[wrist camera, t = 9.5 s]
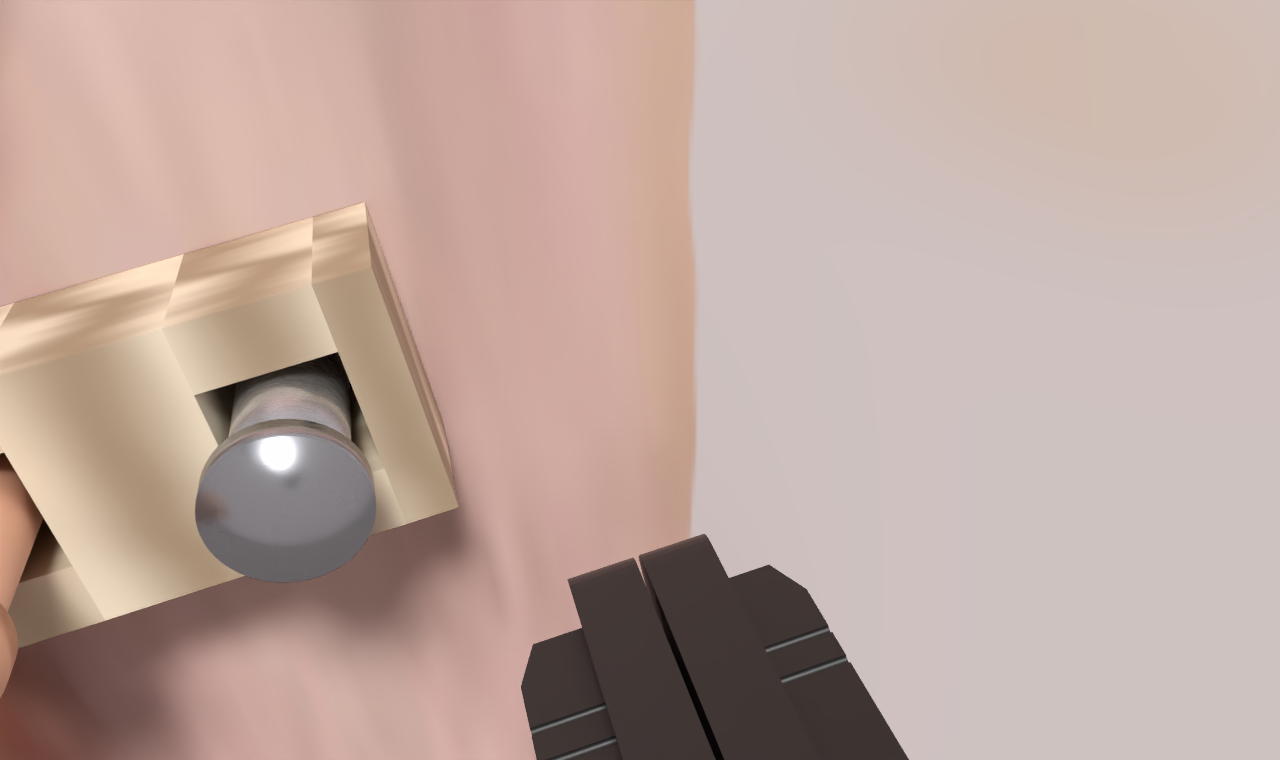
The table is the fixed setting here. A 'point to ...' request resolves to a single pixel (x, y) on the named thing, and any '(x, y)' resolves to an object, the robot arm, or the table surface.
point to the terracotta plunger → (13, 555)
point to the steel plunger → (288, 477)
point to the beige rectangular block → (195, 406)
